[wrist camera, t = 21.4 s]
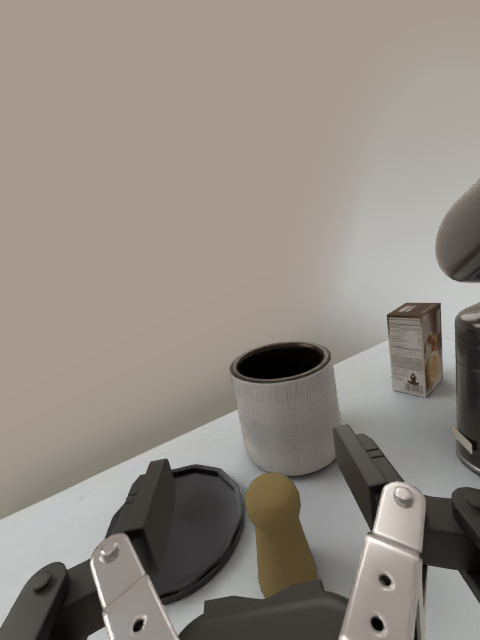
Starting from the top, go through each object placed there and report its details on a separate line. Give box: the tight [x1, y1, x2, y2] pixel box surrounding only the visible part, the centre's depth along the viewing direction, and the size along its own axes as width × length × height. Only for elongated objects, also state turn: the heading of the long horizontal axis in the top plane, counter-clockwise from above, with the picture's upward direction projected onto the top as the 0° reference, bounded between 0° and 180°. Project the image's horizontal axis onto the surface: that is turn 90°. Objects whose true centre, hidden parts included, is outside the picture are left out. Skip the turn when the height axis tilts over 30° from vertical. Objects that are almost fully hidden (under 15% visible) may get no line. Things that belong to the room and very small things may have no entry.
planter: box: [230, 341, 341, 476], centre depth 46 cm, size 16×16×16 cm
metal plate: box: [104, 464, 244, 605], centre depth 38 cm, size 18×18×1 cm
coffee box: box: [387, 303, 443, 398], centre depth 56 cm, size 9×6×16 cm
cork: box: [246, 472, 318, 598], centre depth 28 cm, size 6×6×11 cm
